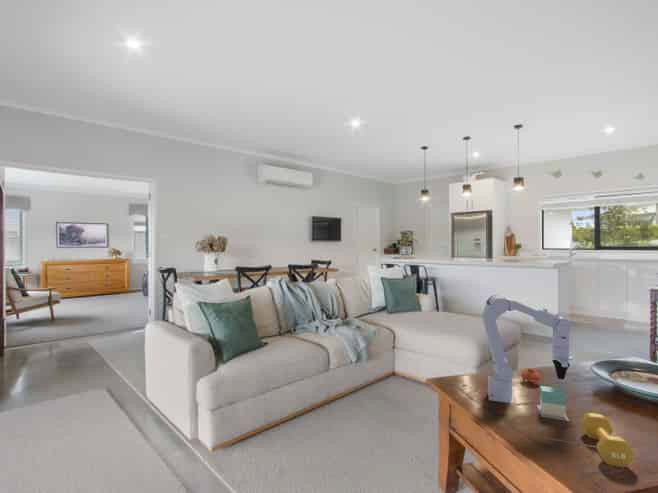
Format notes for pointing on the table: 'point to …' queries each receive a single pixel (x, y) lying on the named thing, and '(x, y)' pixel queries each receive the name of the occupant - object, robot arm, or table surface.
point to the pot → (530, 376)
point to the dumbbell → (607, 440)
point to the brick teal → (552, 395)
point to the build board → (552, 415)
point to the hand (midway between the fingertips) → (560, 378)
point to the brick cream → (552, 409)
